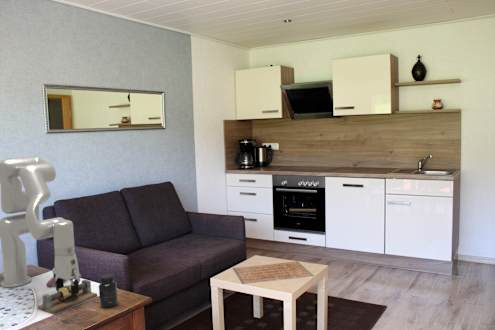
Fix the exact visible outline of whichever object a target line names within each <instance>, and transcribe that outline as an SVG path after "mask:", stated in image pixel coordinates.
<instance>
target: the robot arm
mask: <svg viewBox="0 0 495 330" xmlns="http://www.w3.org/2000/svg"><path fill="white" fill-rule="evenodd" d="M56 177H57V172H56V169H55V167H54V166H53V165H52V164H51V162H49V161H47V160H45V159H44V158H41V157H39V156H23V157H21V156H19V157H11V158H5V159H1V160H0V207H1V212H3V213H4V214H7V215H8V214H9V215H8V216H5V217H2V218H0V244H1V254H2V268H3V273H2V275H1V276H2V277H3V278H4V279H3V280H2V281H1V282H0V286H1V287H2V288H17V287H20V286H21V287H22V286H25V285H27V284H29V283H30V282H32V277H31V276H29V275H28V268H27V267H28V266H27V264H28V263H27V256H26V255H27V254H26V252H27V251H26V244H25V241H23V240H22V239H21V237H20V236H22V235H26V234H27V235H28V234H30V235H31V236H32V238H33V239H34V240H38V241H40V240H41V241H42V240H45V239H50V238H53V247H54V267H53V268H52V270H51V271H52V274H53V276H54V277H55V281H56V285H55V290H56V291H58V289H59V288H62V287H65V283H64V280H66V281H69V282H70V284H72V285H71V295H75V294H77V293H79V284H80V282H81V279H82V274H81V273H80V270H79V263H78V262H79V261H78V258H77V254H76V251H75V250H76V249H75V236H74V235H75V233H74V224H73V221H71V220H69V219H65V218H63V217H60V216H59V217H58V216H57V217H53V218H47V219H42V220H40V205H42V204H44V203H45V202H47V201H48V200H49V199H50V197H51V195H52V194H51V191H50V189H49V186H48V185H47V183H49V182H53V181H54V180H55V179H56ZM22 187H23V188H24V190H23V188H22ZM18 213H19V214H18ZM10 214H12V215H10ZM13 214H14V215H13ZM53 276H52V277H53ZM63 279H64V280H63Z"/></svg>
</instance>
